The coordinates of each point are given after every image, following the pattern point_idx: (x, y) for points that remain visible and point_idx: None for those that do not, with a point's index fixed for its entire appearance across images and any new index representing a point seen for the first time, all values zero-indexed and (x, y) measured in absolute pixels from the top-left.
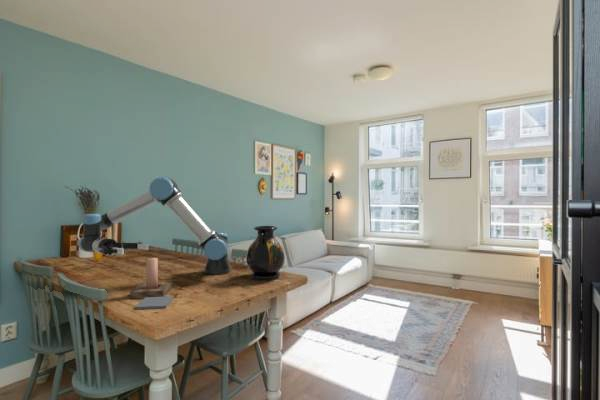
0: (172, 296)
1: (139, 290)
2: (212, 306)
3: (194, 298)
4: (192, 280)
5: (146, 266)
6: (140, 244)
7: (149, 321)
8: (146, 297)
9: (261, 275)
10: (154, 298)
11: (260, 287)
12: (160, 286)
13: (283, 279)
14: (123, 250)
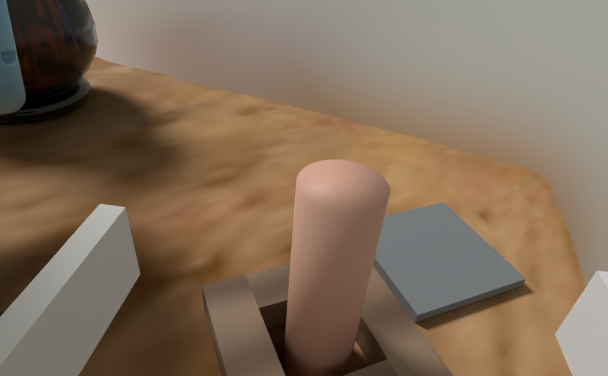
0: None
1: (411, 352)
2: (363, 135)
3: None
4: None
5: (377, 242)
6: (19, 354)
7: (539, 200)
8: (417, 307)
9: (77, 87)
10: (408, 270)
11: (172, 96)
12: None
13: None
14: (590, 292)
